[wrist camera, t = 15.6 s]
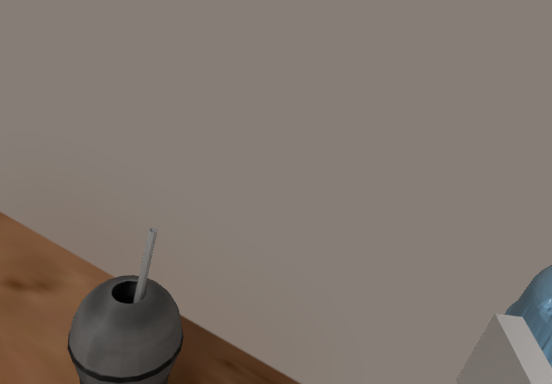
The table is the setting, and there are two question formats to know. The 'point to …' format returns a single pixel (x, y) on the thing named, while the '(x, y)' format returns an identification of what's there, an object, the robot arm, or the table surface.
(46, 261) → the table surface
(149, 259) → the beverage cup
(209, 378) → the table surface
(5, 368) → the table surface
